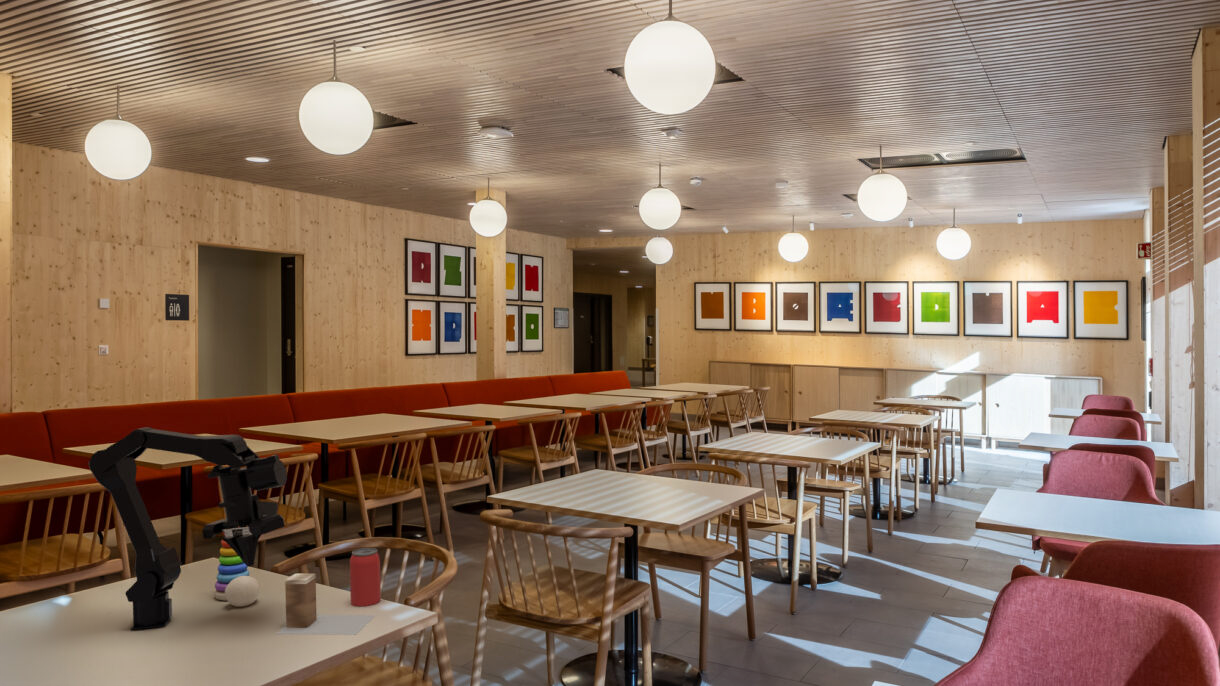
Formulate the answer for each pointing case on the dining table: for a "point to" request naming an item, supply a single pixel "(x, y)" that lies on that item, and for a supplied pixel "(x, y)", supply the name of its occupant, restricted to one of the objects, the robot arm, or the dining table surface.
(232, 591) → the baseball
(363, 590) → the beer can
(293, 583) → the walnut block
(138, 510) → the robot arm
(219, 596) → the stacking toy
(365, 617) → the rubber mat
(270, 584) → the dining table surface
